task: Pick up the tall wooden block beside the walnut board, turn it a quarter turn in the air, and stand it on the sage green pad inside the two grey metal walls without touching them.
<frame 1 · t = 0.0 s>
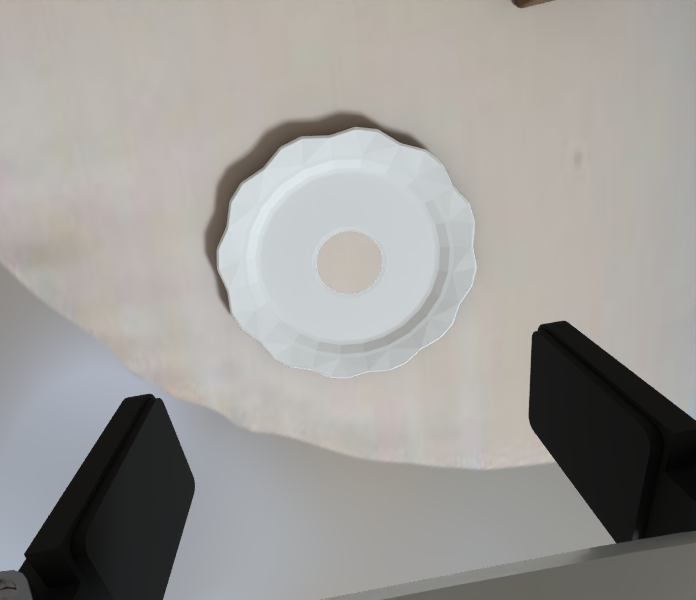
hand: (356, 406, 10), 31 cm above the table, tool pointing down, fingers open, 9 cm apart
plate: (348, 261, 42), on the table
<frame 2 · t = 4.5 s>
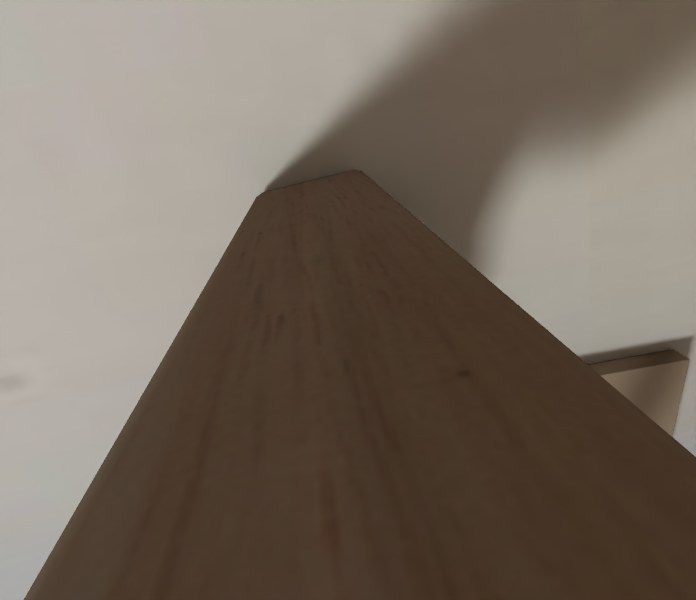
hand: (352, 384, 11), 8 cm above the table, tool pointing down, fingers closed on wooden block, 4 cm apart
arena: (505, 489, 25), on the table
wooden block: (333, 279, 19), on the table, touching gripper
when the fingers open (10 cm above the table, at t = 11.6 s): wooden block stays where it is, resting on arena.
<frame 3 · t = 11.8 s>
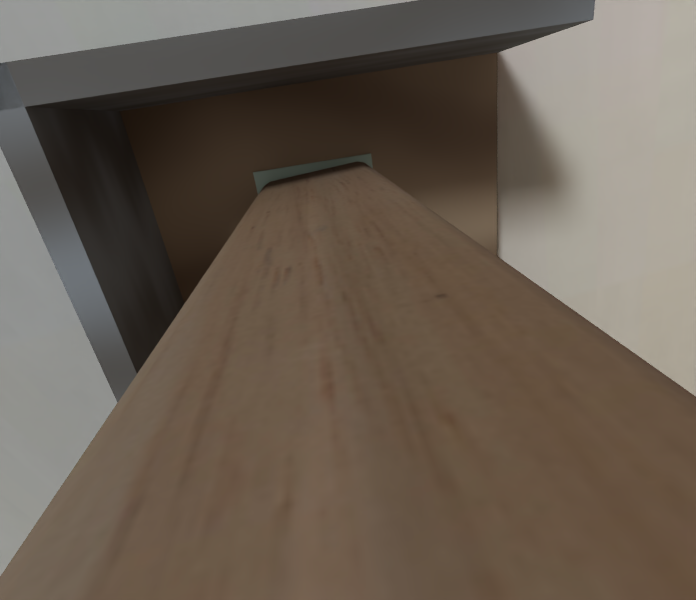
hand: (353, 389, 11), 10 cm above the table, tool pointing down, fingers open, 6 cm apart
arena: (329, 266, 20), on the table
wooden block: (336, 267, 19), point 1 cm above the table, touching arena
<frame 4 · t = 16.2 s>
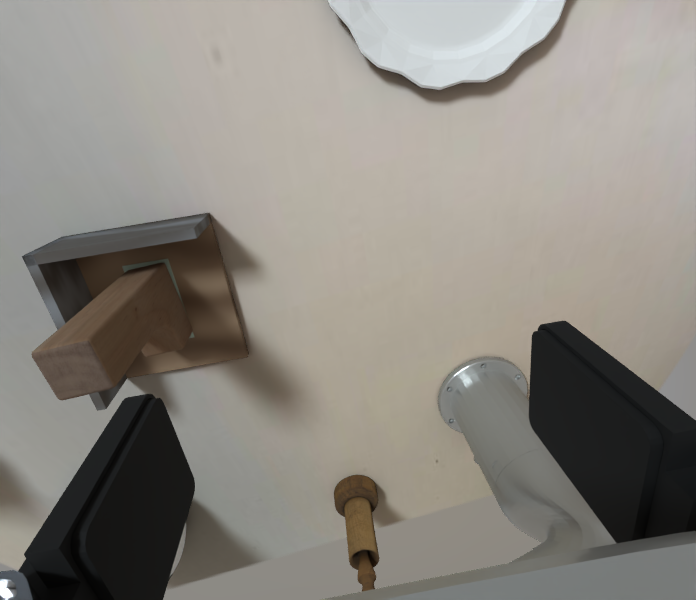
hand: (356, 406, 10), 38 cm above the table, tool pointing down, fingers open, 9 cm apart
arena: (162, 299, 49), on the table
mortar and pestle: (354, 489, 64), on the table
wooden block: (162, 300, 48), point 1 cm above the table, touching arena
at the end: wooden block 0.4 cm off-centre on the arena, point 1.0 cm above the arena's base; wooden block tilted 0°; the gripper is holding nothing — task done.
